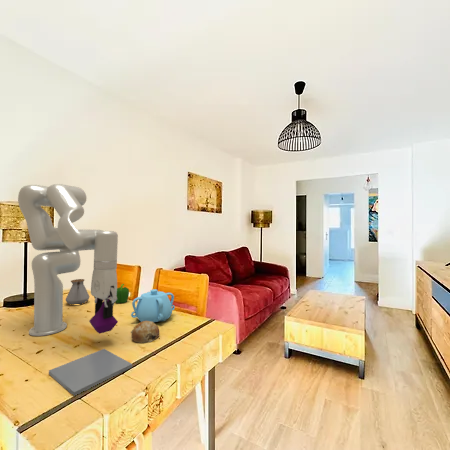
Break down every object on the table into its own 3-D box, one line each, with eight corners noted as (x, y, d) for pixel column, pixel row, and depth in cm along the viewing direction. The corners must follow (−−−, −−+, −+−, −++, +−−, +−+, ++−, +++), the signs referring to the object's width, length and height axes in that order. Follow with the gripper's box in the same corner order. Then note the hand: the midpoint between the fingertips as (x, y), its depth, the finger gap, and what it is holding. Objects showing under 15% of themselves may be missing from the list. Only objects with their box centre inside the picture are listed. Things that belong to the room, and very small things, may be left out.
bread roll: (139, 355, 88) (146, 337, 87) (123, 336, 93) (129, 319, 92) (160, 344, 97) (166, 327, 95) (144, 327, 102) (150, 311, 100)
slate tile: (48, 374, 70) (48, 370, 70) (104, 351, 83) (104, 348, 83) (74, 396, 61) (74, 392, 61) (132, 367, 74) (132, 363, 74)
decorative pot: (149, 312, 123) (149, 284, 124) (178, 315, 119) (178, 286, 119) (127, 324, 108) (127, 292, 108) (159, 328, 103) (159, 295, 103)
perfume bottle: (110, 324, 94) (111, 277, 95) (117, 331, 89) (119, 280, 89) (88, 329, 89) (90, 279, 89) (95, 337, 84) (97, 283, 84)
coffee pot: (65, 302, 140) (66, 275, 140) (88, 299, 146) (89, 273, 146) (64, 313, 122) (64, 282, 122) (91, 309, 128) (91, 280, 128)
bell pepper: (121, 305, 135) (121, 286, 135) (110, 303, 137) (110, 285, 138) (132, 301, 142) (132, 283, 143) (121, 299, 145) (121, 282, 146)
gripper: (83, 263, 91) (81, 313, 91) (107, 269, 81) (105, 325, 81) (103, 261, 97) (101, 308, 97) (128, 266, 87) (126, 318, 87)
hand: (103, 315), depth 89 cm, fingers closed on perfume bottle, 5 cm apart
